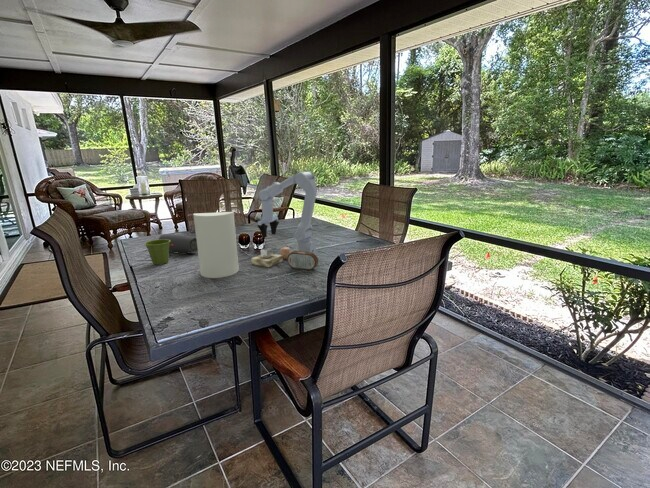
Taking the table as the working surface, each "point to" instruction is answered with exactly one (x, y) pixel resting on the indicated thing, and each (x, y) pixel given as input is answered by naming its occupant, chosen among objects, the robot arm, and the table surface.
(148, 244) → the plant pot
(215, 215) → the cylinder
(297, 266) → the tin
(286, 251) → the round peg
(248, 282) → the table surface
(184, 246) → the bluetooth speaker
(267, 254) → the square peg
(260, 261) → the bore block
